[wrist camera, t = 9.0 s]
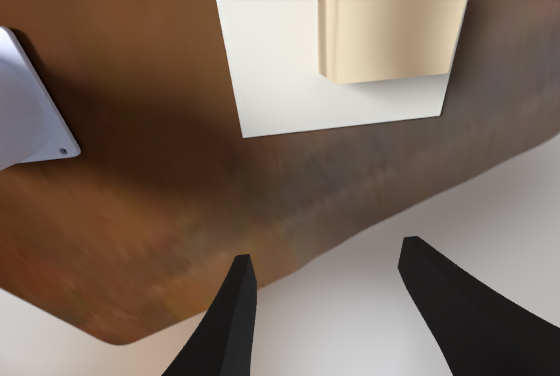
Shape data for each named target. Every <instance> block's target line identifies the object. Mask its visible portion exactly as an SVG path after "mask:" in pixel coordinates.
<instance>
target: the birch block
mask: <svg viewBox="0 0 560 376" xmlns="http://www.w3.org/2000/svg"><path fill="white" fill-rule="evenodd" d="M465 3H466V0H318V73H319V74H321V75H322V76H324V77H326V78H327V79H329V80H330V81H332V82H334V83H335V84H337V85H340V84H349V83H359V82H368V81H378V80H388V79H397V78H407V77H416V76H426V75H436V74H445V73H448V71H449V67H450V63H451V59H452V55H453V51H454V47H455V43H456V39H457V35H458V31H459V27H460V23H461V19H462V15H463V11H464V7H465Z"/></svg>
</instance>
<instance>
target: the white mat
mask: <svg viewBox="0 0 560 376" xmlns="http://www.w3.org/2000/svg"><path fill="white" fill-rule="evenodd" d="M216 1H217V6H218V11H219V16H220V21H221V27H222V32H223V37H224V42H225V47H226V53H227V58H228V63H229V68H230V73H231V78H232V84H233V89H234V94H235V99H236V104H237V109H238V115H239V120H240V125H241V130H242V135H243V138H247V137H255V136H264V135H273V134H282V133H291V132H299V131H308V130H317V129H326V128H335V127H343V126H352V125H361V124H370V123H379V122H387V121H396V120H405V119H414V118H423V117H432V116H440V113H441V109H442V105H443V101H444V97H445V92H446V88H447V84H448V80H449V76H450V72H451V68H452V63H453V59H454V55H455V51H456V47H457V43H458V39H459V35H460V30H461V26H462V22H463V18H464V14H465V10H466V6H467V1H468V0H466V3H465V7H464V11H463V15H462V19H461V23H460V27H459V31H458V35H457V39H456V43H455V47H454V51H453V55H452V59H451V63H450V67H449V71H448V73H445V74H436V75H426V76H416V77H407V78H397V79H388V80H378V81H368V82H359V83H349V84H340V85H337V84H335V83H334V82H332V81H330V80H329V79H327V78H326V77H324V76H322V75H321V74H319V73H318V0H216Z"/></svg>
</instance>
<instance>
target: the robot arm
mask: <svg viewBox="0 0 560 376" xmlns="http://www.w3.org/2000/svg"><path fill="white" fill-rule="evenodd" d="M63 149H65V150H66V151H67V152H65V151H64V150H63ZM80 153H81V150H80V148H79V146H78V144H77V142H76V141H75V139H74V137H73V135H72V134H71V132H70V130H69V128H68V127H67V125H66V123H65V121H64V120H63V118H62V116H61V115H60V113H59V111H58V109H57V108H56V106H55V104H54V102H53V101H52V99H51V97H50V95H49V94H48V92H47V90H46V89H45V87H44V85H43V83H42V82H41V80H40V78H39V76H38V75H37V73H36V71H35V69H34V68H33V66H32V64H31V63H30V61H29V59H28V57H27V56H26V54H25V52H24V50H23V49H22V47H21V45H20V43H19V42H18V40H17V38H16V37H15V35H14V34H13V32H12V31H11V30H9V29H8V28H6V27H4V26H0V171H1V170H3V169H5V168H7V167H9V166H12V165H14V164H16V163H24V162H33V161H42V160H51V159H60V158H68V157H75V156H77V155H79V154H80ZM398 270H399V272H400V275H401V277H402V279H403V282H404V284H405V286H406V288H407V290H408V292H409V294H410V296H411V297H412V299H413V301H414V303H415V304H416V306H417V308H418V310H419V312H420V313H421V315H422V317H423V318H424V320H425V322H426V323H427V325H428V327H429V329H430V330H431V332H432V334H433V336H434V337H435V339H436V341H437V343H438V345H439V347H440V349H441V351H442V353H443V355H444V357H445V359H446V361H447V363H448V366H449V368H450V370H451V372H452V374H453V376H560V328H559V327H557V326H555V325H553V324H550V323H549V322H547V321H545V320H543V319H542V318H540V317H538V316H536V315H534V314H533V313H531V312H529V311H527V310H525V309H524V308H522V307H521V306H519V305H517V304H515V303H514V302H512V301H510V300H509V299H507V298H505V297H504V296H502V295H501V294H499V293H497V292H496V291H494V290H493V289H491V288H490V287H488V286H487V285H485V284H484V283H482V282H480V281H479V280H477V279H476V278H475V277H473V276H472V275H470V274H469V273H467V272H466V271H464V270H463V269H462V268H460V267H459V266H457V265H456V264H455V263H453V262H452V261H451V260H449V259H448V258H446V257H445V256H444V255H442V254H441V253H439V252H438V251H437V250H436V249H434V248H433V247H432V246H430V245H429V244H428V243H426V242H425V241H424V240H422V239H421V238H419V237H418V236H412V237H405V238H404V240H403V244H402V249H401V254H400V259H399V264H398ZM256 305H257V281H256V277H255V274H254V270H253V266H252V262H251V258H250V254H246V255H237V256H236V257H235V258H234V261H233V263H232V265H231V268H230V270H229V272H228V274H227V276H226V278H225V280H224V282H223V284H222V286H221V288H220V290H219V292H218V293H217V295H216V297H215V299H214V301H213V302H212V304H211V306H210V307H209V309H208V311H207V312H206V314H205V316H204V317H203V319H202V321H201V322H200V324H199V325H198V327H197V328H196V330H195V331H194V333H193V334H192V336H191V337H190V339H189V340H188V341H187V343H186V344H185V346H184V347H183V348H182V350H181V351H180V352H179V354H178V355H177V356H176V358H175V359H174V360H173V362H172V363H171V364H170V365H169V367H168V368H167V369H166V371H165V372H164V373H163V374H162V375H161V376H250V364H251V351H252V343H253V334H254V324H255V315H256Z"/></svg>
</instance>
